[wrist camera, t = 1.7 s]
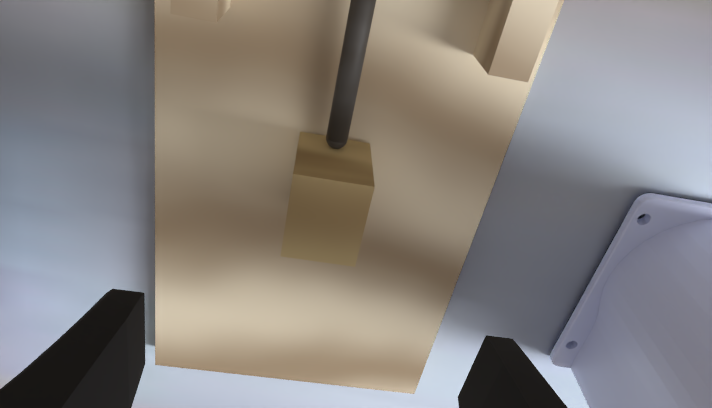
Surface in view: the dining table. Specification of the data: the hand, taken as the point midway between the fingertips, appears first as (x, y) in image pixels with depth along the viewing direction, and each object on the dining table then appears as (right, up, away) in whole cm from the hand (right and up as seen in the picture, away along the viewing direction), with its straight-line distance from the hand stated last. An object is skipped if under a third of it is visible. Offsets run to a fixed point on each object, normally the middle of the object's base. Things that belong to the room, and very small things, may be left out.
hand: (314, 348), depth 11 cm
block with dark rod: (+1, +9, +4) cm, 10 cm away
